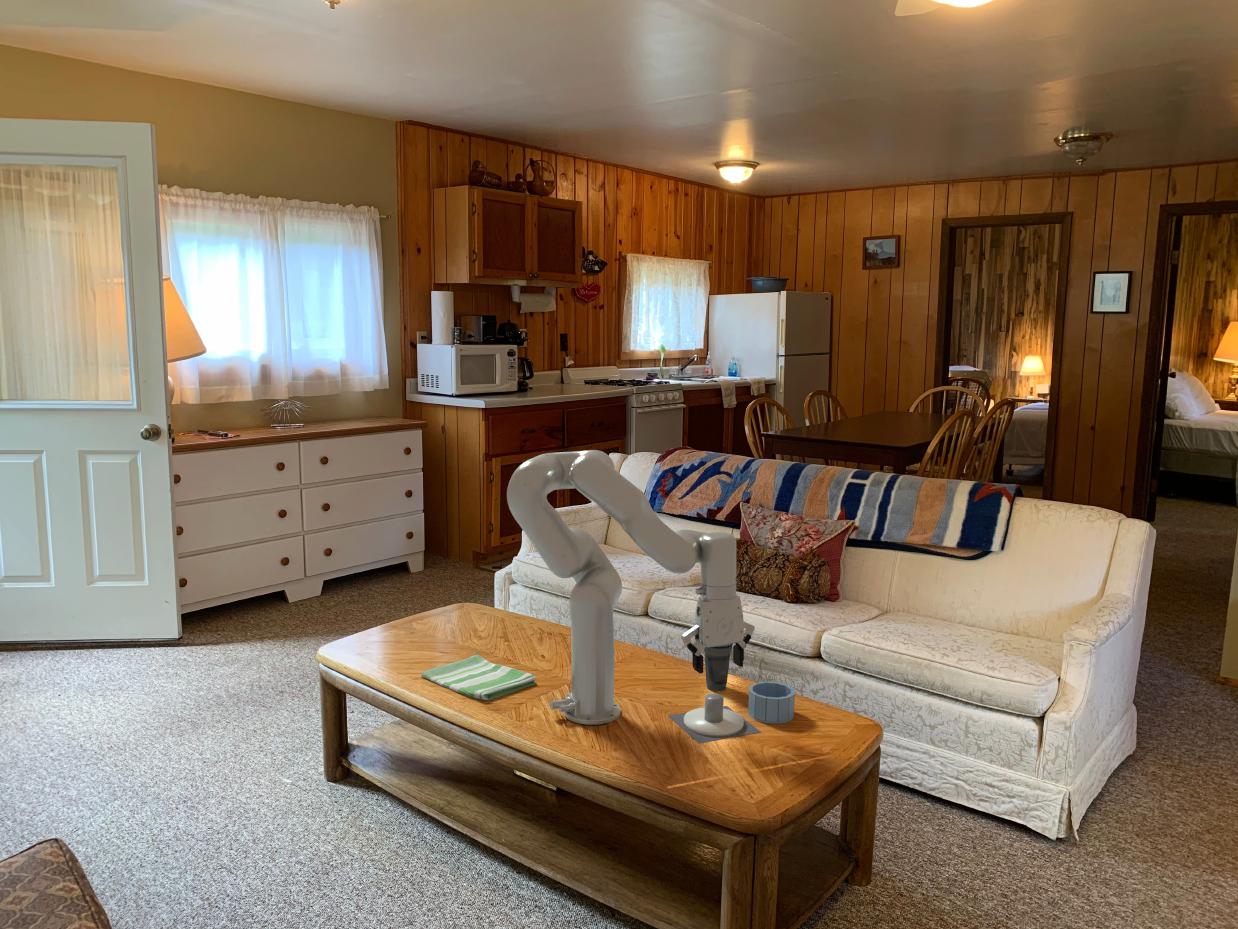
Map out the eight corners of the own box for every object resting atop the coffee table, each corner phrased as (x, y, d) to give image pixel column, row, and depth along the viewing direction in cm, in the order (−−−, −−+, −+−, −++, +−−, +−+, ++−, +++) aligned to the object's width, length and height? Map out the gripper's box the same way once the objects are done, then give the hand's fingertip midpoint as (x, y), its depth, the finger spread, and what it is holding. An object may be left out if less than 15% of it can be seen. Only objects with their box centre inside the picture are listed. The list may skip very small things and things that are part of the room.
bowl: (763, 727, 201) (764, 701, 200) (740, 710, 210) (740, 685, 209) (802, 721, 205) (803, 695, 204) (777, 704, 214) (778, 679, 213)
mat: (698, 745, 192) (698, 743, 192) (667, 717, 206) (667, 715, 206) (761, 733, 198) (761, 732, 198) (726, 707, 212) (726, 705, 212)
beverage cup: (730, 696, 218) (732, 614, 215) (699, 693, 220) (701, 612, 217) (732, 685, 225) (735, 605, 223) (702, 682, 227) (705, 603, 224)
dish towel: (478, 661, 241) (478, 651, 240) (539, 685, 225) (539, 674, 225) (420, 679, 228) (420, 668, 227) (481, 706, 212) (481, 694, 212)
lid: (701, 740, 194) (701, 713, 193) (673, 716, 205) (674, 690, 205) (755, 730, 199) (755, 704, 198) (725, 708, 210) (725, 682, 210)
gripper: (690, 600, 191) (690, 680, 193) (762, 590, 198) (762, 667, 200) (674, 591, 198) (674, 668, 200) (744, 582, 205) (744, 657, 207)
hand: (718, 668), depth 200 cm, fingers open, 9 cm apart
